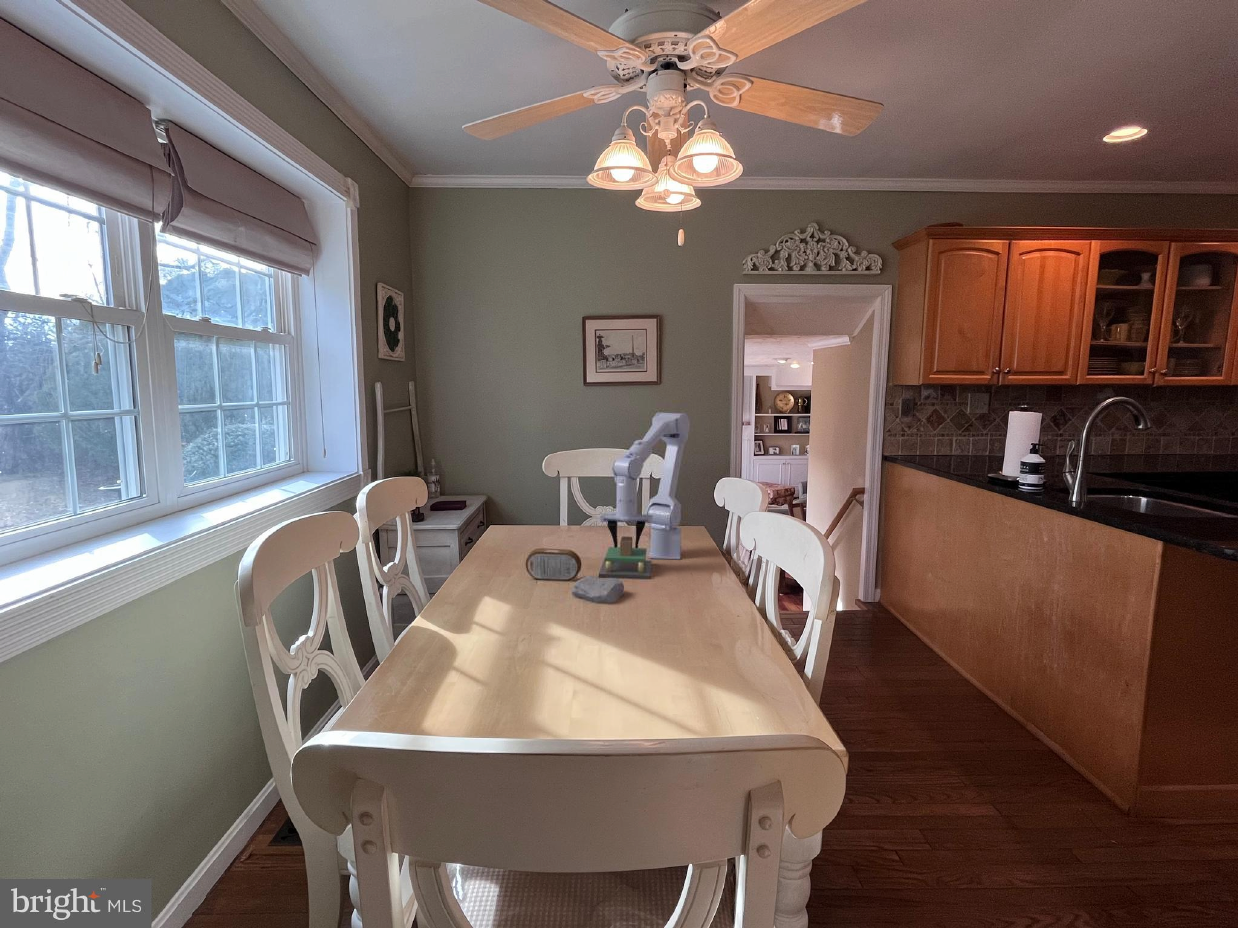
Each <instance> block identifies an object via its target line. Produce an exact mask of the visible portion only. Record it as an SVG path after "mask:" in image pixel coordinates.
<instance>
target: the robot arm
mask: <svg viewBox="0 0 1238 928" xmlns="http://www.w3.org/2000/svg"><path fill="white" fill-rule="evenodd" d="M651 422H652V425H651V426H650V428H649V429H648V431H647V432H646V433H645V435H644V437H643V438H642V439H638V440H635V441H634V442H633V444H632V445H631V446H630V448H629V449H628V450H627V452H626V453H624V455H622V456H619V457H617V458H616V459H615V460H614V462H613V463H612V468H611V470H612V471H611V472H612V474H613V476H614V483H615V484H616V511H615V512H616V513H600V523H605V522H607V524H606V525H607V528H608V531H609V532H610V535H611V537H612V541H613V547H614V548H617V547H618V542H619V541H618V523H635V544H634V548H639V542H640V538H641V536H642V533H643V531H644V529H645V526H646V524H648V527H649V528H650V549H649V553H648V554H649V555H648V558H649V559H659V560H660V559H661V560H667V559H668V560H681V553H682V547H683V546H682V545H681V544H682V543H681V542H682V539H681V538H682V536H681V535H682V533H681V532H682V530H681V529H682V528H681V527H678V526H679V524H680V523H681V520H682V518H681V517H682V513H681V512H682V505H681V503H680V502H679V501H678V500H677V499H676V497H675V496H676V490H677V485H678V481H679V475H680V468H681V463H682V459H683V453H684V449H685V444H686V442H687V441H688V439H689V433H690V427H691V426H690V425H691V422H690V418H689V417H688V415H687V413H685V412H682V413H679V412H677V413H676V412H662V411H659V412H656V414H655V415H654V416H653V417H652V421H651ZM660 440H662V441H663V442H665V443H666V449H665V454H664V460H663V466H662V471H661V474H660V475H661V476H660V481H659V486H658V492H657V494H656V495H654V496H653V497H651V498H650V499H649V503H648V506H647V507H646V509H645V513H644V514H640V513H638V510H637V509H638V506H637V505H638V479H639V478H640V476H641V475H642V471H643V468H644V464H645V462H646V461H647V460H648V459H649V458H650V456H651V455H652V453H653V447H654V446H655V445H657V443H658V442H659V441H660Z"/></svg>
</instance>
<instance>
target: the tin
mask: <svg viewBox="0 0 1238 928" xmlns="http://www.w3.org/2000/svg"><path fill="white" fill-rule="evenodd" d="M525 569H526V572H527V573H528V574H529V576H530V577H532V578H533V579H535V580H538V581H556V582H557V581H558V582H570V581H572V580H574V579H575V578H576V577H577V576H578V575H579V573H580V572H581V569H582V559H581V557H580V556H579V555H578V554H577V552H576V551H574V550H571V549H566V548H564V549H563V548H548V547H547V548H543V547H539V548H534V549H533V550H531V551H530V552H529V554H528V556H527V558H526V560H525Z"/></svg>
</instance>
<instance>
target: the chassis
mask: <svg viewBox="0 0 1238 928" xmlns="http://www.w3.org/2000/svg"><path fill="white" fill-rule="evenodd" d="M652 563H653V562H652V560H649V559H648V560H646V558H645V563H640V562H609V561H605V558H604V559H603V561H602V564H601V567H600V570H599V572H598V578H600V579H606V578H617V579H633V580H635V579H636V580H651V572H652V565H653V564H652Z"/></svg>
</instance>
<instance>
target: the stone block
mask: <svg viewBox="0 0 1238 928" xmlns="http://www.w3.org/2000/svg"><path fill="white" fill-rule="evenodd" d="M571 587H572V589H571V594H572V596H574V597H577V598H579V599H583V600H585V601H589V602H591V603H596V604H609V605H610V604H612V603H614V602H617V600H618V599H619V598H620V597H622V596H623V595H624V590H625V586H624V583H623V581H622V579H621V580H620V578H600V577H595V576H594V575H587V576H585V577H583V578H580V579H578V580H577V581H576V582H574V583H573V585H572V586H571Z"/></svg>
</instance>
